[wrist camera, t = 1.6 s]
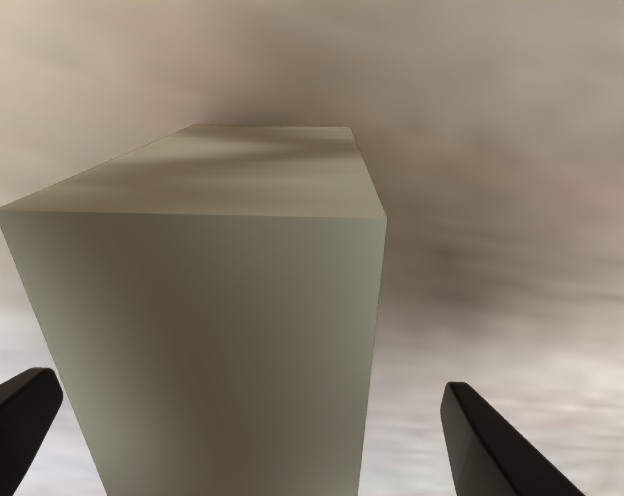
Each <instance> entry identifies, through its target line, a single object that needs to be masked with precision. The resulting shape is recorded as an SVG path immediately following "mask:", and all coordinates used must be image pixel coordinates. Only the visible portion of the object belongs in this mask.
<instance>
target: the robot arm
mask: <svg viewBox="0 0 624 496" xmlns="http://www.w3.org/2000/svg"><path fill="white" fill-rule="evenodd" d="M62 401H63V391H62V389H61V386H60V384H59V381H58V379H57V377H56V374H55V372H54V370H52V369H51V368H40V367H34V368H30V369H28V370H26V371H24V372H22V373H21V374H19V375H17V376H15V377H13V378H11V379H10V380H8V381H6V382H4V383H2V384H0V496H13V494H14V493H15V491H16V490H17V488H18V486H19V485H20V483H21V481H22V480H23V478H24V476H25V474H26V473H27V471H28V469H29V467H30V465H31V463H32V462H33V460H34V458H35V456H36V454H37V452H38V450H39V448H40V446H41V444H42V442H43V440H44V438H45V436H46V434H47V432H48V430H49V428H50V426H51V424H52V422H53V420H54V418H55V416H56V414H57V412H58V410H59V408H60V406H61V404H62ZM440 414H441V421H442V426H443V431H444V436H445V441H446V446H447V451H448V456H449V461H450V466H451V471H452V476H453V481H454V486H455V490H456V494H457V496H585V495H584V494H583V493H582V492H581V491H580V490H579V489H578V488H577V487H576V486H575V485H574V484H573V483H572V482H571V481H569V480H568V479H567V478H566V477H565V476H564V475H563V474H562V473H561V472H560V471H559V470H558V469H557V468H556V467H555V466H554V465H553V464H552V463H551V462H550V461H549V460H547V459H546V458H545V457H544V456H543V455H542V454H541V453H540V452H539V451H538V450H537V449H536V448H535V447H534V446H533V445H532V444H531V443H530V442H529V441H528V440H526V439H525V438H524V437H523V436H522V435H521V434H520V433H519V432H518V431H517V430H516V429H515V428H514V427H513V426H512V425H511V424H510V423H509V422H508V421H507V420H506V419H504V418H503V417H502V416H501V415H500V414H499V413H498V412H497V411H496V410H495V409H494V408H493V407H492V406H491V405H490V404H489V403H488V402H487V401H486V400H485V399H484V398H482V397H481V396H480V395H479V394H478V393H477V392H476V391H475V390H474V389H473V388H472V387H471V386H470V385H469V384H467V383H465V382H448V383H447V384H446V386H445V391H444V395H443V399H442V403H441V409H440Z"/></svg>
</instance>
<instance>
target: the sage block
mask: <svg viewBox="0 0 624 496" xmlns="http://www.w3.org/2000/svg"><path fill="white" fill-rule="evenodd" d="M386 226H387V216H386V214H385V211H384V209H383V207H382V204H381V202H380V199H379V197H378V194H377V192H376V189H375V187H374V184H373V182H372V180H371V177H370V175H369V172H368V170H367V167H366V165H365V162H364V160H363V158H362V155H361V153H360V150H359V148H358V145H357V143H356V140H355V138H354V135H353V133H352V131H351V128H350V127H331V126H262V125H192V126H190V127H188V128H185V129H183V130H180V131H178V132H176V133H173V134H171V135H169V136H166V137H164V138H162V139H159V140H157V141H155V142H152V143H150V144H148V145H145V146H143V147H141V148H138V149H136V150H134V151H131V152H129V153H127V154H124V155H122V156H120V157H117V158H115V159H113V160H110V161H108V162H105V163H103V164H101V165H98V166H96V167H94V168H91V169H89V170H87V171H84V172H82V173H80V174H77V175H75V176H73V177H70V178H68V179H66V180H63V181H61V182H59V183H56V184H54V185H52V186H49V187H47V188H45V189H42V190H40V191H38V192H35V193H33V194H30V195H28V196H26V197H23V198H21V199H19V200H16V201H14V202H12V203H9V204H7V205H5V206H2V207H0V227H1V229H2V232H3V234H4V237H5V239H6V242H7V244H8V247H9V249H10V252H11V254H12V257H13V259H14V262H15V264H16V267H17V269H18V272H19V274H20V277H21V280H22V282H23V285H24V287H25V290H26V292H27V295H28V297H29V300H30V302H31V305H32V307H33V310H34V312H35V315H36V317H37V320H38V322H39V325H40V327H41V330H42V332H43V335H44V337H45V340H46V342H47V345H48V347H49V350H50V352H51V355H52V357H53V360H54V362H55V365H56V367H57V370H58V372H59V375H60V378H61V380H62V383H63V385H64V388H65V390H66V393H67V395H68V398H69V400H70V403H71V405H72V408H73V410H74V413H75V415H76V418H77V420H78V423H79V425H80V428H81V430H82V433H83V435H84V438H85V440H86V443H87V445H88V448H89V450H90V453H91V455H92V458H93V460H94V463H95V465H96V468H97V470H98V473H99V476H100V478H101V481H102V483H103V486H104V488H105V491H106V493H107V496H358V487H359V478H360V469H361V459H362V450H363V441H364V431H365V422H366V413H367V403H368V394H369V385H370V375H371V366H372V357H373V347H374V338H375V329H376V319H377V310H378V301H379V292H380V282H381V273H382V264H383V254H384V245H385V236H386Z"/></svg>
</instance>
